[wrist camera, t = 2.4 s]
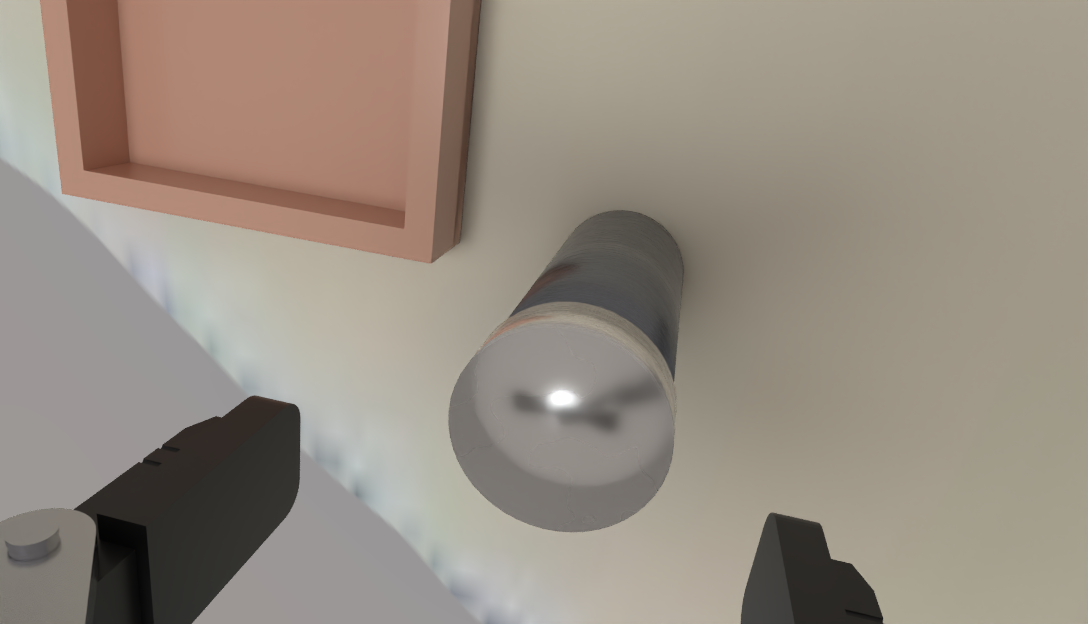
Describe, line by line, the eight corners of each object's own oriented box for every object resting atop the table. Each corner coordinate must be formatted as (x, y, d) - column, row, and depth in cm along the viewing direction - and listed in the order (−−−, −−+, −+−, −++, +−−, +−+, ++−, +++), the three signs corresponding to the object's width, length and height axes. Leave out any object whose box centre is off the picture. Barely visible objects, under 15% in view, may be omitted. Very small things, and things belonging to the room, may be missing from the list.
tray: (492, -132, 22) (462, -159, 19) (459, 242, 26) (431, 263, 24) (95, -171, 24) (17, -201, 21) (124, 180, 28) (62, 193, 26)
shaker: (698, 219, 24) (695, 354, 13) (672, 343, 26) (650, 554, 15) (566, 197, 25) (458, 307, 14) (549, 318, 27) (440, 503, 16)
